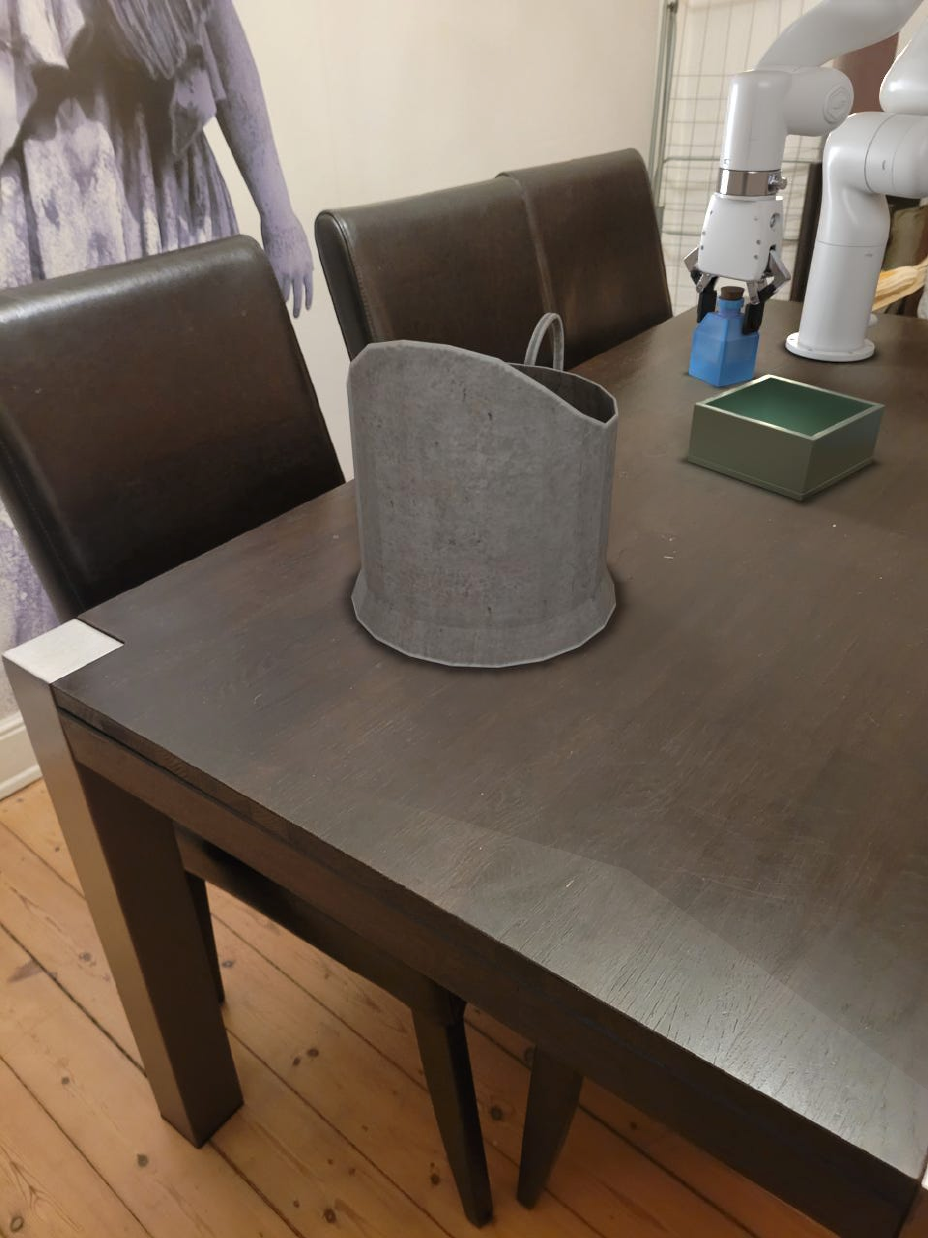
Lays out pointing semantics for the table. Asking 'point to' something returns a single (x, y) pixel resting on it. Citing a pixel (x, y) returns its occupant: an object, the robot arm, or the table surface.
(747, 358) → the perfume bottle
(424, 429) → the coal scuttle
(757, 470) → the basket
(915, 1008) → the table surface
